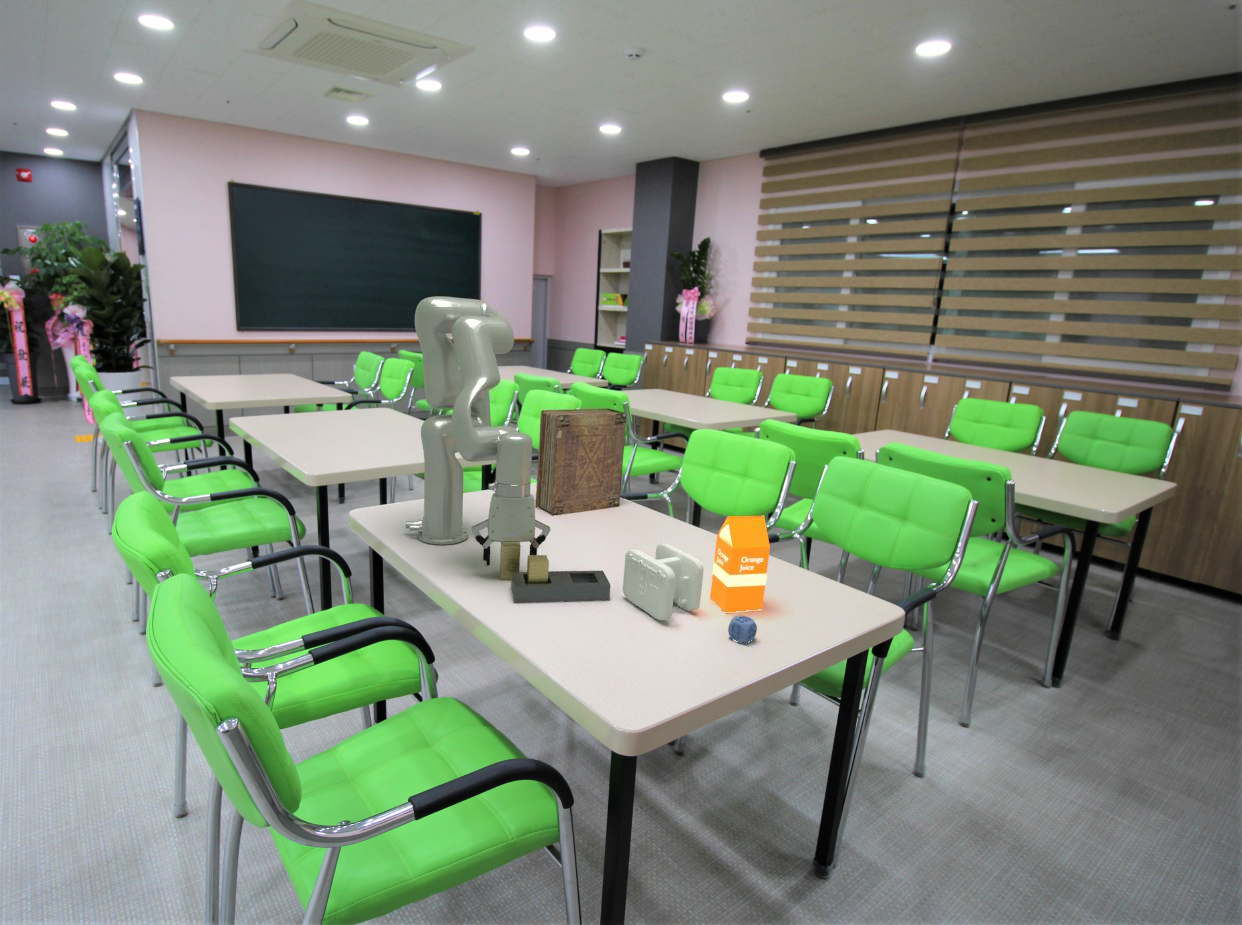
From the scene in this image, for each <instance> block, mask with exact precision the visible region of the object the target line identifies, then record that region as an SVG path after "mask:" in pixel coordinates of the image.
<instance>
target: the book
mask: <svg viewBox="0 0 1242 925" xmlns="http://www.w3.org/2000/svg"><path fill="white" fill-rule="evenodd" d="M627 416H628V415H627V413H626V412H623V411H619V410H616V409H611V408H575V409H573V408H572V409H571V408H570V409H542V410H541V411H540V419H539V420H540V421H539V422H540V423H539V437H538V438H539V439H538V441H539V442H538V454H537V456H538V458H537V476H536V477H537V478H536V491H535V492H536V493H535V509H538V508H537V507H541V508H540V509H543V510H545V511H547V512H549V513H550V515H551V516H553V517H554V515H556V516H562V514H563V515H566V514H567V515H568V514H575V513H583V512H589V510H590V511H596V510H597V511H598V510H604V509H609V508H616V507H620V504H621V503H620V502H621V488H622V479H623V478H622V476H623V462H624V452H625V451H624V449H625V439H626V438H625V437H626V427H627V426H626V425H627Z"/></svg>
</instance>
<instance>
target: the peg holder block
mask: <svg viewBox="0 0 1242 925" xmlns="http://www.w3.org/2000/svg"><path fill="white" fill-rule="evenodd" d="M549 568H550V561H549V558H548V555H547V554H537V555H527V563H526V571H519V572H512V579H511V580H510V582H511V584H510V586H511V587H510V589H511V592H512V593H511V595H512V594H513V595H512V601H513V603H514V604H515V603H516V604H520V602H521V603H522V604H523V602H524V604H525V603H553V602H554V601H555V602H557V601H558V602H559V601H563V602H591V601H592V602H594V601H595V600H596V601H595V602H597V600H598V602H599V600H601V601H610V596H611V583H610V581H609V580H608V577H607V575H606V574H605V572H604V570H556V571H555V570H551V571H549ZM593 600H594V601H593ZM555 602H554V603H555ZM558 602H557V603H558Z"/></svg>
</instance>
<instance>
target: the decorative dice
mask: <svg viewBox="0 0 1242 925" xmlns="http://www.w3.org/2000/svg"><path fill="white" fill-rule="evenodd" d="M757 630H758V625H757V623H756V622H755V620H754V619H753V618H751V617H749V616H748V615H747V616H746V615H735V616H734V617H733V618H731V620H730V621H729V625H728V630H727V632H728V635H729V637H730V639H731V638H732V639H734V640H736V641H738V642H741V643H740V644H742V643H747V644H749V643H748V642H749V641H751V640H752V641H754V639H755V637H756V636H757ZM738 642H737V643H738Z"/></svg>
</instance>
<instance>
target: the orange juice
mask: <svg viewBox="0 0 1242 925" xmlns="http://www.w3.org/2000/svg"><path fill="white" fill-rule="evenodd" d="M766 524H767V523H766V519H765V515H743V516H742V515H741V516H735V515H734V516H731V515H729V516H727V517H726V519H725V521H724V522H723V524H722V526H721V527H720V530H719V532H718V533H717V535H716V541H715V542H716V543H715V551H714V559H713V567H712V576H711V577H712V578H711V586H710V595H709V596H710V597H709V599H710V598H711V599H710V600H711V601H712V600H713V601H714V602H715V603H716V604H717V605H718V606H719V607H720V608H721V609H722V610H723V611H724V612H736V611H746V610H758V609H762V610H763V606H764V605H763V603H764V598H765V596H764V595H765V590H766V586H767V584H766V583H767V577H768V565H769V560H770V558H769V557H770V553H771V552H770V549H771V546H770V541H769V535H768V531H767V525H766ZM713 601H712V602H713ZM714 602H713V603H714ZM715 603H714V604H715ZM716 604H715V605H716Z"/></svg>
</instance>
